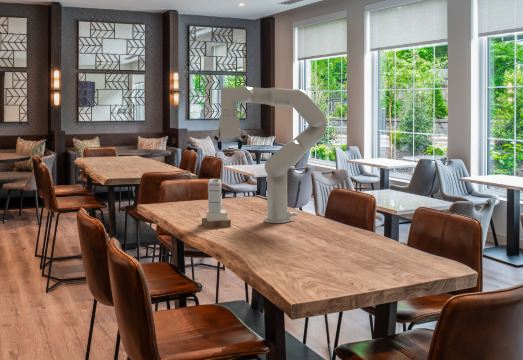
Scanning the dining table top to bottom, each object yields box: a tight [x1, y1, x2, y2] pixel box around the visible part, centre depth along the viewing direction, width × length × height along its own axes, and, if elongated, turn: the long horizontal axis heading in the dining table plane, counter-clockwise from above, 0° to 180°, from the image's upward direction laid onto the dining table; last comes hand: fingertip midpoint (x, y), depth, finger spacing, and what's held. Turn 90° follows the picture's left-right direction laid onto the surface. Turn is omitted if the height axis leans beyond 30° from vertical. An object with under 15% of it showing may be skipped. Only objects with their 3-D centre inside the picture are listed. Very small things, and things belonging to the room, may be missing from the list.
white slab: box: [205, 209, 228, 221], centre depth 291 cm, size 9×9×4 cm
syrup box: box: [207, 178, 223, 212], centre depth 288 cm, size 6×6×14 cm
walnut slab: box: [201, 217, 232, 229], centre depth 291 cm, size 11×11×4 cm
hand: (229, 149), depth 299 cm, fingers open, 9 cm apart
